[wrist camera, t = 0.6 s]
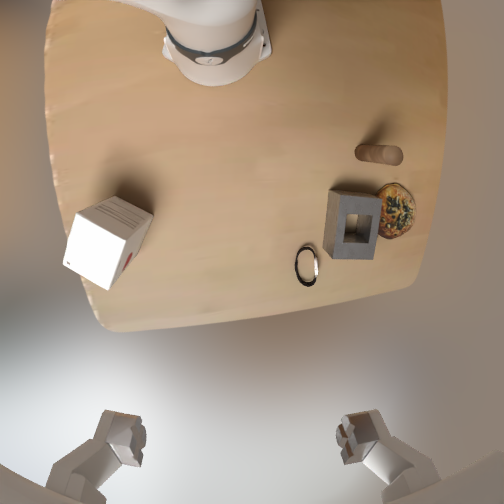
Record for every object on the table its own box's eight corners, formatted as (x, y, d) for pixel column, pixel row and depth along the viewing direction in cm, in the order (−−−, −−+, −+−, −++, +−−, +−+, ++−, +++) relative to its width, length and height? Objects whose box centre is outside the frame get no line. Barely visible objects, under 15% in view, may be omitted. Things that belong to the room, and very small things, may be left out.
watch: (317, 279, 56) (322, 288, 52) (294, 283, 56) (298, 292, 52) (315, 243, 53) (321, 249, 50) (291, 247, 53) (295, 253, 50)
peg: (355, 143, 47) (387, 144, 36) (369, 146, 47) (403, 147, 36) (354, 159, 48) (386, 164, 37) (368, 161, 48) (402, 167, 37)
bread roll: (363, 236, 53) (376, 241, 48) (368, 180, 51) (381, 180, 46) (406, 239, 54) (420, 243, 50) (411, 187, 52) (425, 188, 47)
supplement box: (137, 256, 52) (108, 293, 38) (99, 235, 50) (60, 265, 36) (155, 215, 49) (127, 240, 35) (114, 193, 47) (74, 211, 33)
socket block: (328, 189, 49) (340, 194, 44) (367, 193, 50) (382, 199, 44) (322, 247, 53) (332, 259, 48) (360, 248, 54) (372, 259, 48)
